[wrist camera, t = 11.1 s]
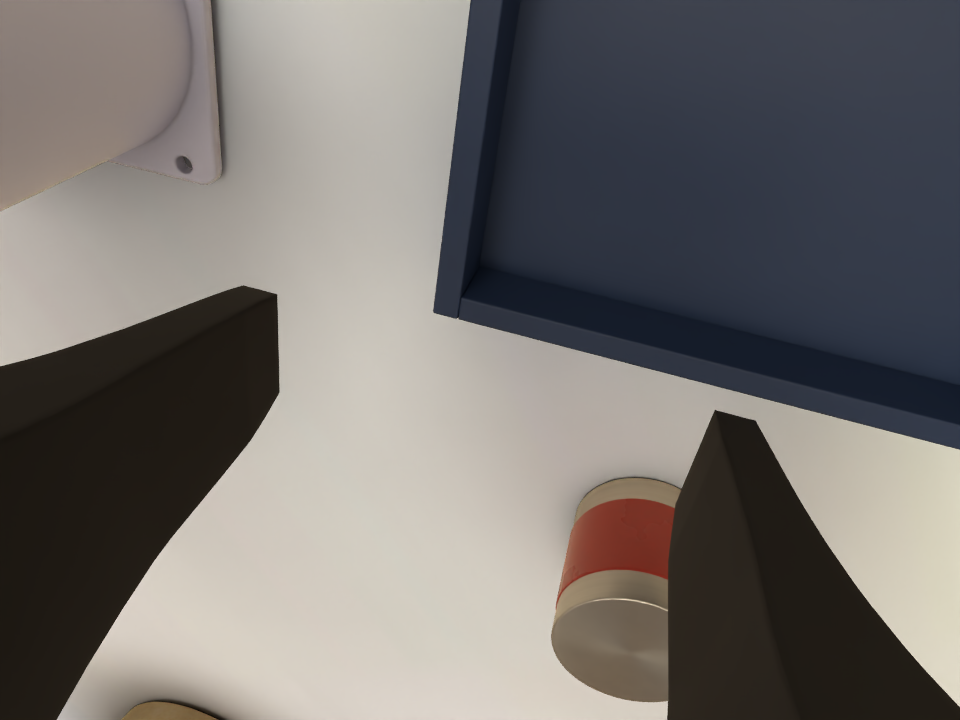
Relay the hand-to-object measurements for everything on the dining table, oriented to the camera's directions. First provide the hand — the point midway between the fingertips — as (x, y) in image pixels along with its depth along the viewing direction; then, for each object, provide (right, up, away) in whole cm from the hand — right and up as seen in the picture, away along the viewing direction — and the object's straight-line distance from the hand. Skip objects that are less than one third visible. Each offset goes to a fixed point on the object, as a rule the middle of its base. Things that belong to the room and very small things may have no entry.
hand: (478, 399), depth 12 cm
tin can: (+6, -5, +13) cm, 15 cm away
